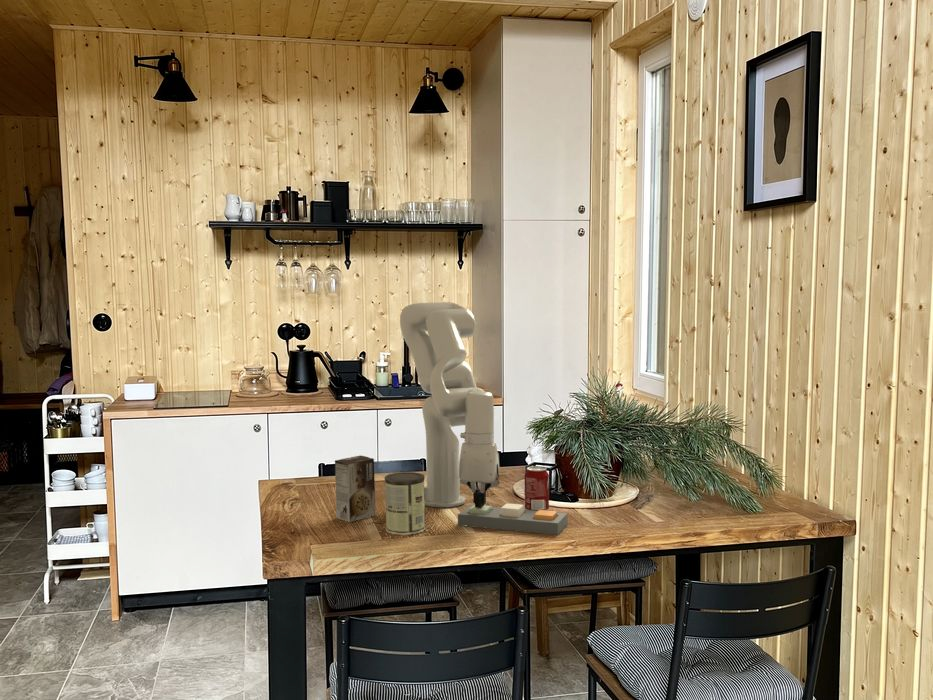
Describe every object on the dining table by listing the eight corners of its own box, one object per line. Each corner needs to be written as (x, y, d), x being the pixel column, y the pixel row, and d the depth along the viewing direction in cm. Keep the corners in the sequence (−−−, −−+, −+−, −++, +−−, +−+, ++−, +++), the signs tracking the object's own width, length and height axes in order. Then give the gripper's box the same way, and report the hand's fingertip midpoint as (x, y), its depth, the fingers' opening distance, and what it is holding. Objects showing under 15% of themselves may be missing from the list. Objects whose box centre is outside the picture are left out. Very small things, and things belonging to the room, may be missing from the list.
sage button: (468, 518, 234) (468, 508, 233) (474, 513, 238) (474, 504, 238) (485, 519, 232) (485, 510, 232) (491, 515, 236) (491, 505, 236)
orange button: (534, 524, 227) (534, 514, 227) (539, 519, 232) (539, 509, 232) (552, 525, 226) (552, 516, 226) (557, 520, 230) (557, 511, 230)
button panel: (457, 525, 232) (457, 514, 232) (471, 515, 241) (470, 505, 241) (557, 534, 223) (557, 523, 222) (567, 524, 232) (567, 513, 232)
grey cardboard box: (361, 511, 247) (360, 454, 246) (376, 516, 242) (375, 458, 241) (335, 518, 241) (333, 459, 239) (349, 522, 236) (348, 463, 235)
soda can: (547, 514, 242) (547, 471, 241) (523, 513, 244) (522, 470, 243) (550, 508, 249) (550, 466, 248) (526, 507, 250) (526, 465, 249)
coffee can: (392, 523, 235) (391, 471, 234) (429, 525, 232) (429, 472, 231) (380, 534, 225) (379, 479, 224) (419, 536, 222) (418, 481, 221)
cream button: (501, 517, 230) (501, 507, 230) (506, 512, 235) (506, 503, 235) (518, 518, 229) (518, 509, 229) (524, 514, 233) (524, 504, 233)
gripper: (448, 439, 233) (448, 507, 234) (501, 442, 227) (501, 512, 229) (458, 434, 240) (458, 500, 241) (510, 437, 234) (510, 505, 236)
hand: (479, 506), depth 235 cm, fingers closed
